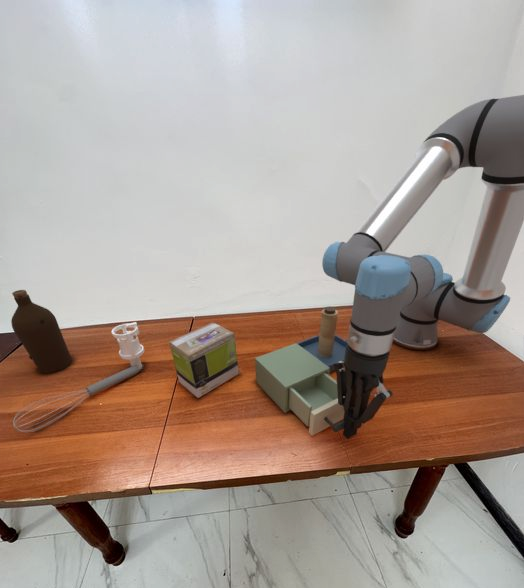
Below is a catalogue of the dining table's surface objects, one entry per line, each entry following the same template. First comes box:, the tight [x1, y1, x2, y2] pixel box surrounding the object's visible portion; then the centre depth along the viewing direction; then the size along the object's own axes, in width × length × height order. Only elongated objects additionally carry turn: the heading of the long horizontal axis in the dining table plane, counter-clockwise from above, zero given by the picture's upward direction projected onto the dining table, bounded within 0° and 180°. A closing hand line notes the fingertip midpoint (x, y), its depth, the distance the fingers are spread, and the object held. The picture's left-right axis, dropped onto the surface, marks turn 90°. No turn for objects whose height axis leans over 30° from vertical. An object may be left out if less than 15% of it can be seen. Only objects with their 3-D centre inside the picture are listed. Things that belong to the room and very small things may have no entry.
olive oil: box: [10, 289, 73, 374], centre depth 88 cm, size 11×11×25 cm
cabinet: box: [254, 342, 331, 413], centre depth 81 cm, size 15×14×9 cm
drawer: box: [288, 373, 345, 437], centre depth 72 cm, size 18×13×7 cm
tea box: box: [168, 321, 240, 399], centre depth 83 cm, size 15×10×15 cm, turn 134°
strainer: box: [111, 321, 145, 370], centre depth 89 cm, size 7×7×15 cm
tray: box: [296, 333, 348, 373], centre depth 96 cm, size 18×16×3 cm
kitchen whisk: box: [12, 363, 145, 433], centre depth 80 cm, size 6×34×6 cm, turn 142°
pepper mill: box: [318, 306, 339, 358], centre depth 92 cm, size 5×5×16 cm
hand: (349, 434), depth 66 cm, fingers closed
